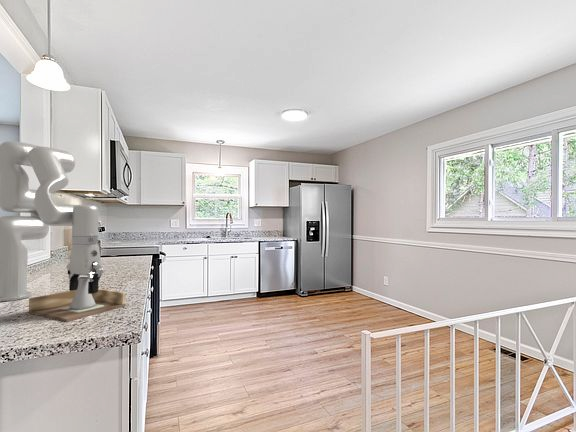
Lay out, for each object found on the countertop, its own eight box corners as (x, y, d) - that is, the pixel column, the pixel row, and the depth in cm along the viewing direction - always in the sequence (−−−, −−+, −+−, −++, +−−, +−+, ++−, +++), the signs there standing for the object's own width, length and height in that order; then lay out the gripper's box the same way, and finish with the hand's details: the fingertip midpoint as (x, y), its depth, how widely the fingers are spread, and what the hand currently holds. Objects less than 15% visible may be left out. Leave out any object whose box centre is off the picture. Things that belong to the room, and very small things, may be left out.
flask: (64, 309, 105) (65, 278, 105) (82, 303, 112) (83, 275, 112) (83, 310, 103) (83, 280, 103) (100, 304, 110) (100, 276, 110)
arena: (28, 313, 103) (29, 298, 103) (88, 299, 121) (89, 286, 121) (67, 321, 95) (67, 305, 95) (125, 305, 113) (125, 292, 113)
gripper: (112, 241, 108) (111, 292, 107) (79, 239, 115) (78, 286, 114) (91, 242, 101) (89, 296, 100) (57, 240, 108) (56, 291, 107)
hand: (83, 291), depth 107 cm, fingers open, 9 cm apart
